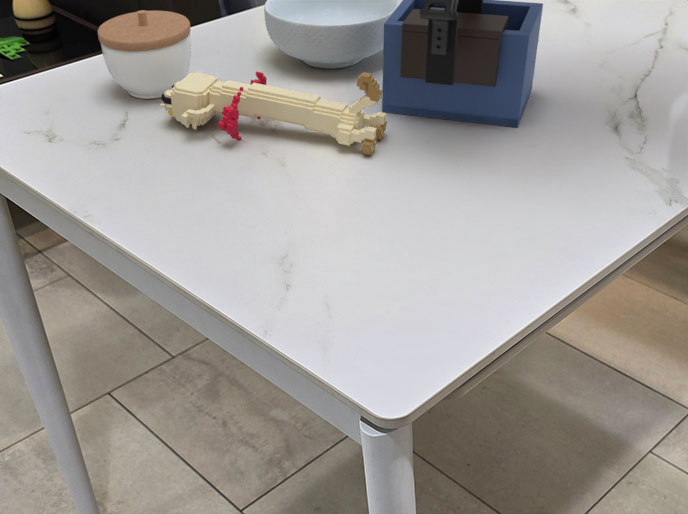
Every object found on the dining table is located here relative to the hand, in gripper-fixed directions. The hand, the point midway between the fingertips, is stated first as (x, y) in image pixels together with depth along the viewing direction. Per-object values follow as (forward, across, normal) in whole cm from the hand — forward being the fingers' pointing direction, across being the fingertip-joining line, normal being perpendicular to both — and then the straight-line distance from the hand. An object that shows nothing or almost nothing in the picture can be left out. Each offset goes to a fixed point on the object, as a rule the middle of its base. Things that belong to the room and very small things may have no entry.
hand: (454, 57), depth 89 cm
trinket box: (+7, +2, -36) cm, 37 cm away
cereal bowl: (+7, -13, -18) cm, 24 cm away
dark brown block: (+2, 0, 0) cm, 2 cm away
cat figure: (+7, +8, -18) cm, 21 cm away
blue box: (+7, -4, 0) cm, 8 cm away
